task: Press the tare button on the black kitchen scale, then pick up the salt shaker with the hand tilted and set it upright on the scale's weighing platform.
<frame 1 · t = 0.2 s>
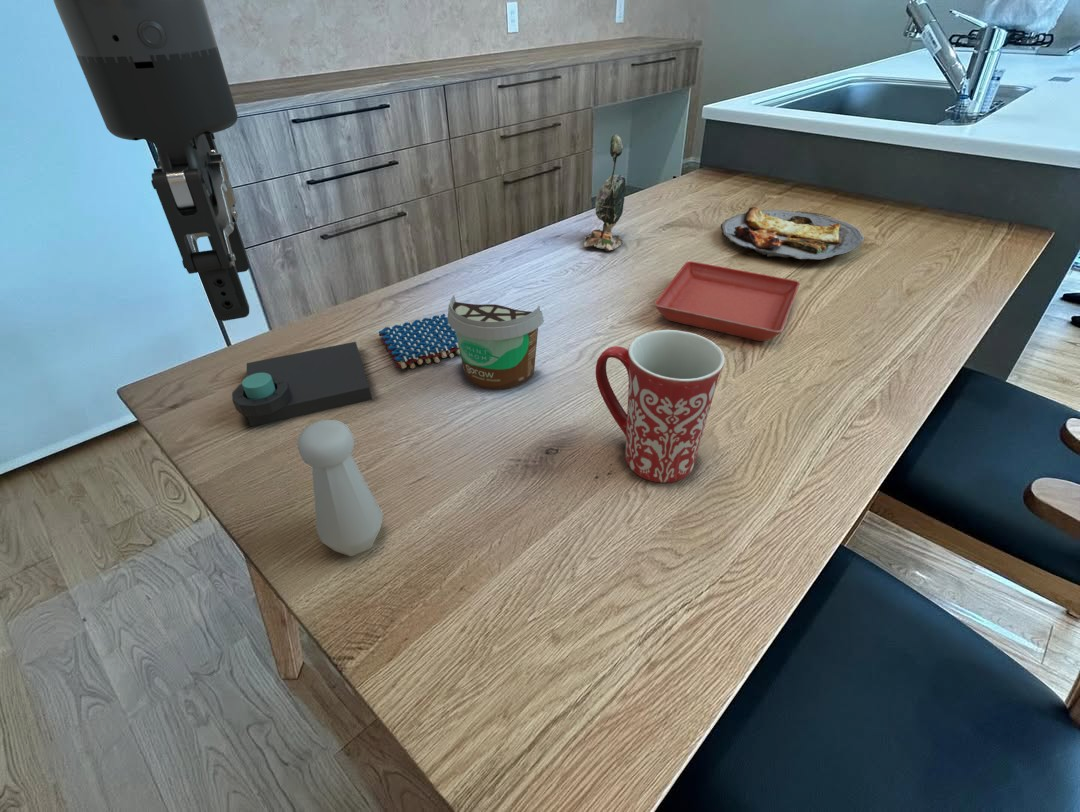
hand: (235, 292, 45), 23 cm above the table, tool pointing down, fingers open, 8 cm apart
food container: (492, 382, 76), on the table
tare button: (258, 386, 68), point 4 cm above the table, slide at 0.1 cm
scale: (309, 386, 75), on the table
plant saucer: (725, 312, 90), on the table
food plate: (786, 242, 112), on the table
woven mat: (425, 347, 83), on the table
salt shaker: (355, 540, 55), on the table
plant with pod: (604, 243, 113), on the table
mug: (645, 455, 64), on the table
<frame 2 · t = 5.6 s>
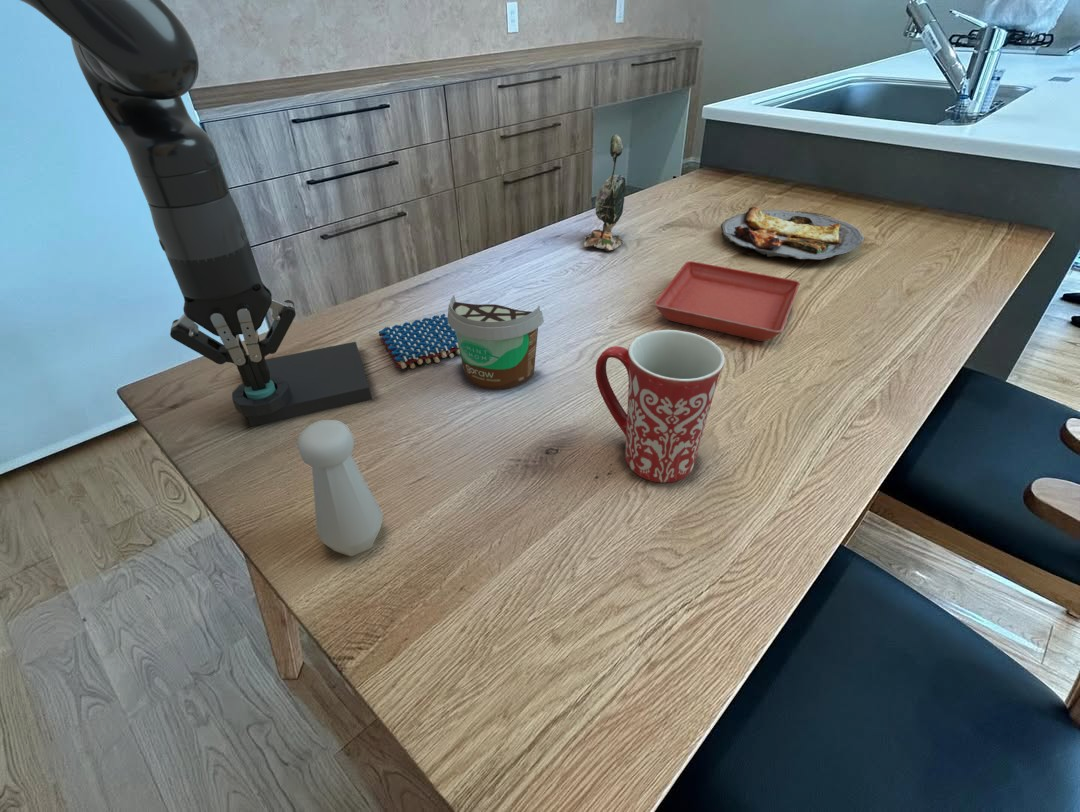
hand: (259, 385, 68), 4 cm above the table, tool pointing down, fingers closed
tare button: (261, 392, 69), point 3 cm above the table, slide at -0.8 cm, touching gripper
everything else where it was.
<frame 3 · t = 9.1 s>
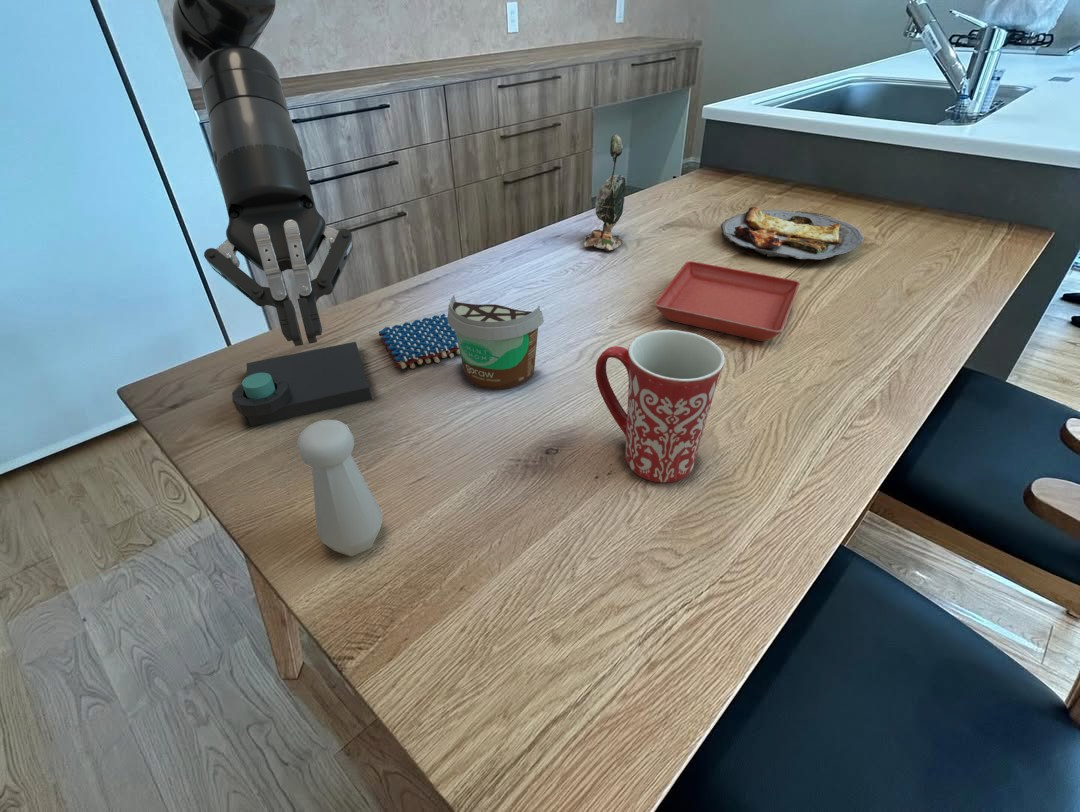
hand: (304, 341, 53), 16 cm above the table, tool tilted 45°, fingers closed
tare button: (258, 386, 68), point 4 cm above the table, slide at 0.1 cm
everything else where it was.
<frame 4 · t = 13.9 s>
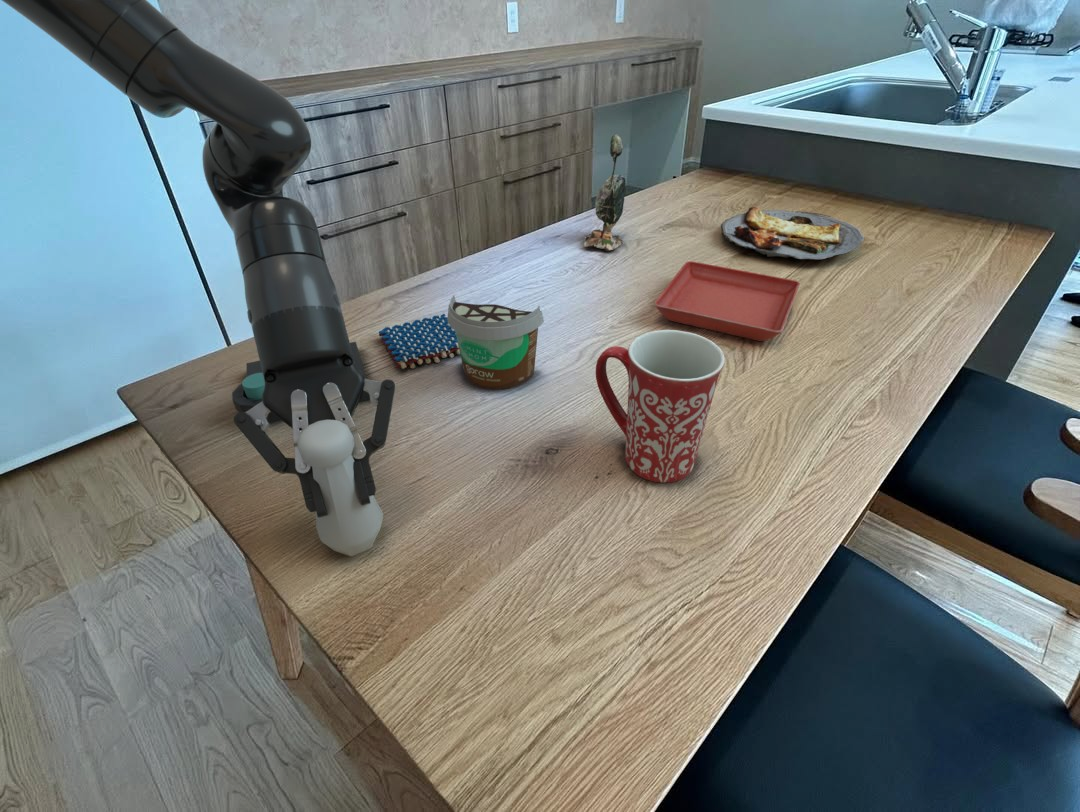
hand: (344, 509, 50), 6 cm above the table, tool tilted 45°, fingers closed on salt shaker, 3 cm apart
salt shaker: (355, 540, 55), on the table, touching gripper
everything else where it was.
when the fingers open (8 cm above the table, at t = 23.5 s): salt shaker stays where it is, resting on scale.
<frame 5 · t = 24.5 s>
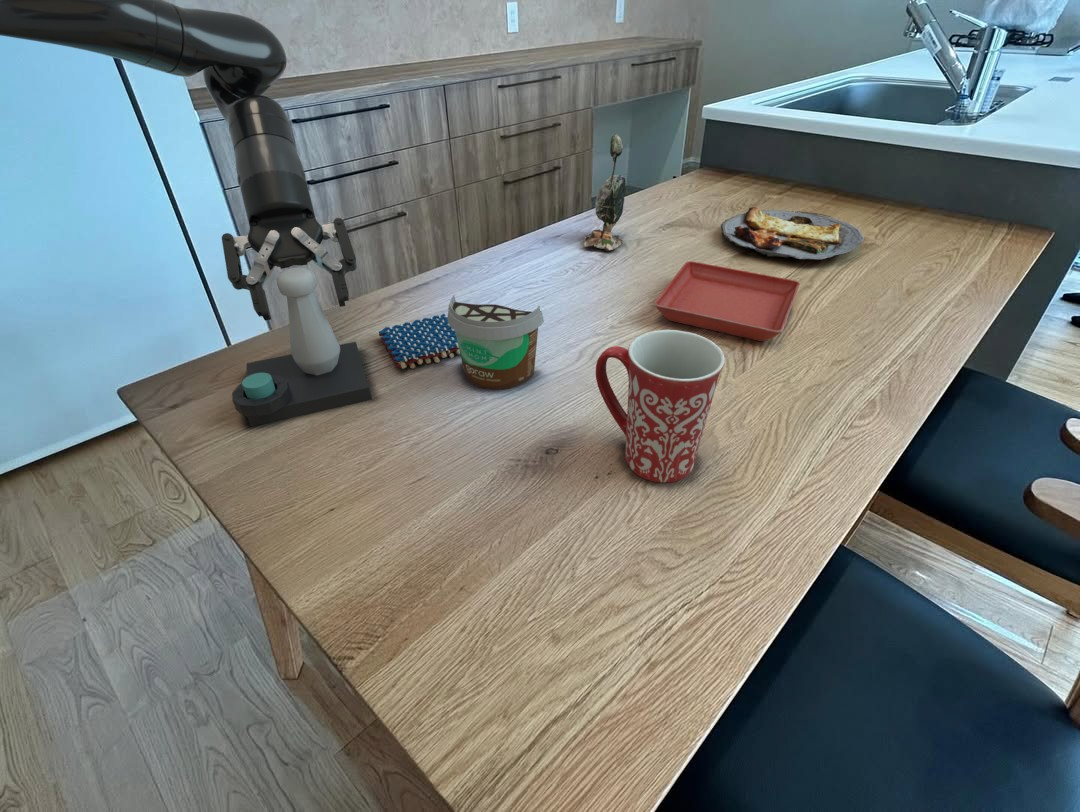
hand: (305, 311, 69), 11 cm above the table, tool tilted 45°, fingers open, 8 cm apart
salt shaker: (320, 367, 75), point 2 cm above the table, touching scale
everything else where it was.
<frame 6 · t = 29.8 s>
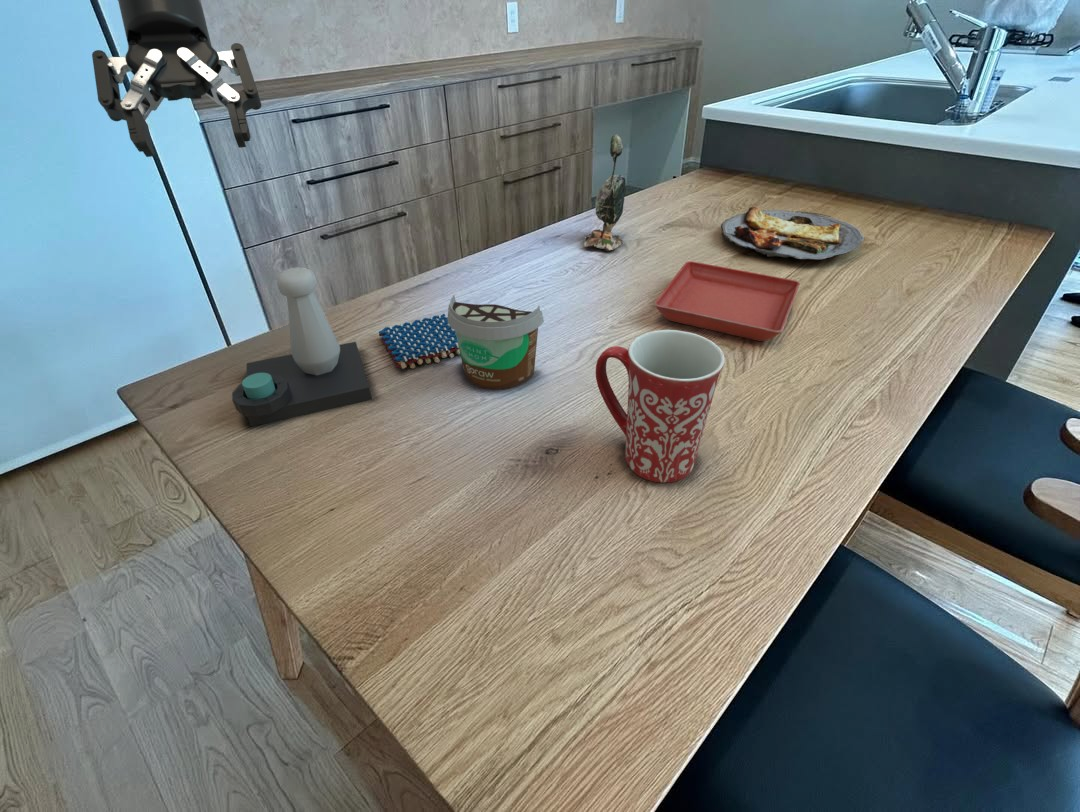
hand: (194, 147, 59), 29 cm above the table, tool tilted 45°, fingers open, 8 cm apart
nothing on the table moved.
at the end: tare button pushed in 0.9 cm at the most during the clip, back to where it started at the end; salt shaker inside the target area on the scale (2.2 cm from its centre), point 1.7 cm above the scale's base; salt shaker tilted 0° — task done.
